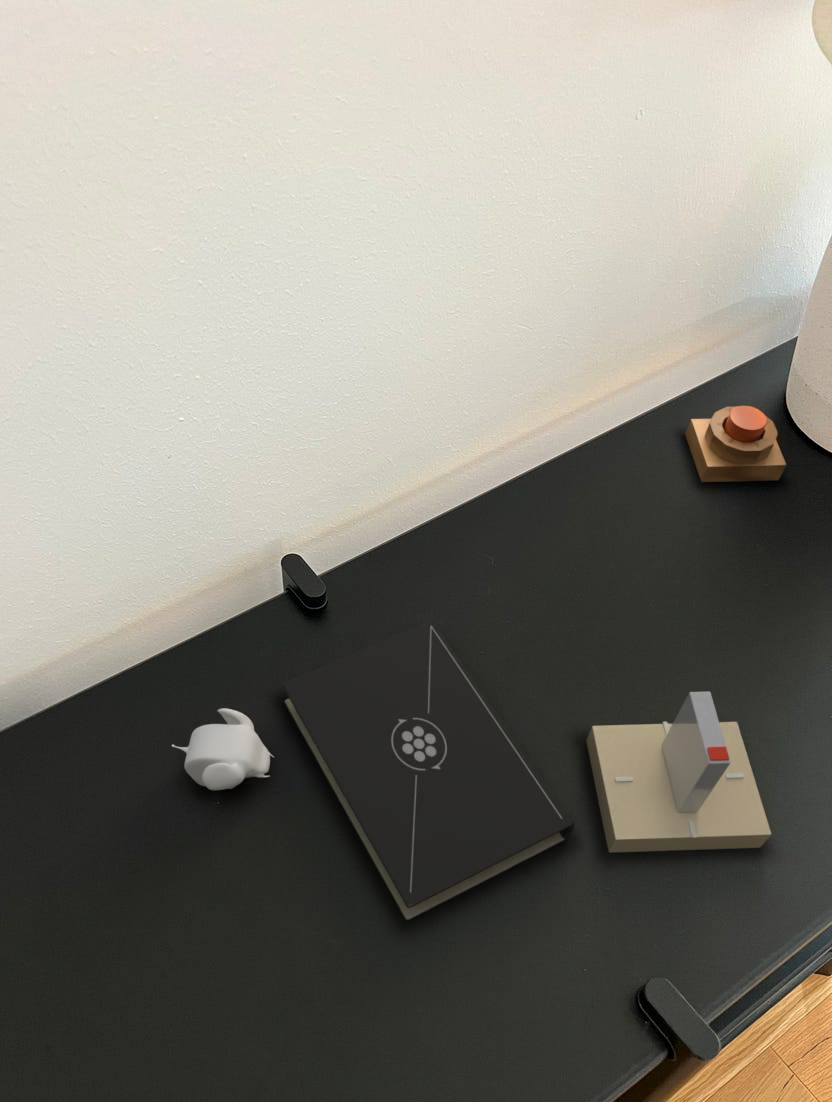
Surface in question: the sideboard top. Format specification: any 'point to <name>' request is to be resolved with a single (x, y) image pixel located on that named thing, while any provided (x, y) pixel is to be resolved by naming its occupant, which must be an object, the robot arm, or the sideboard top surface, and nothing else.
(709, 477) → the button block
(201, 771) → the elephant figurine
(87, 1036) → the sideboard top surface
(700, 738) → the grey rectangular block
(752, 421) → the button
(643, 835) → the panel
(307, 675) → the book
